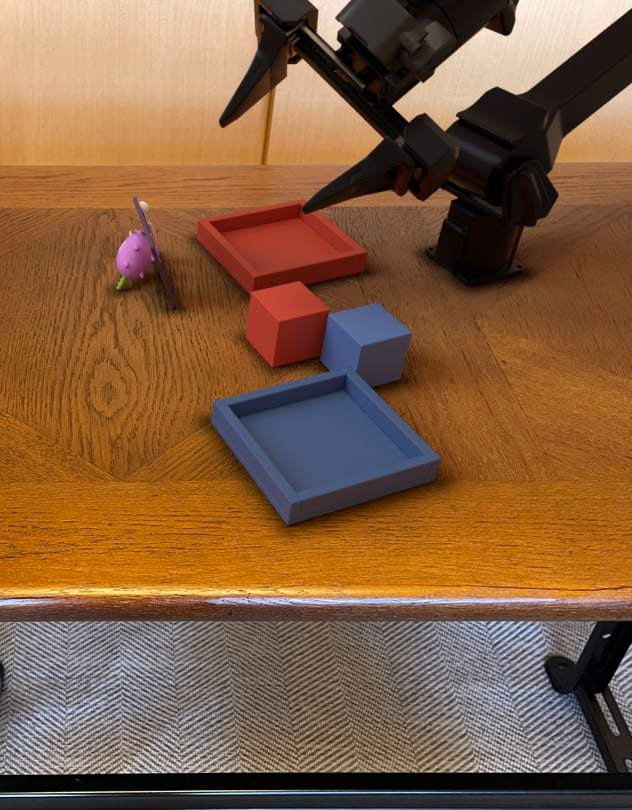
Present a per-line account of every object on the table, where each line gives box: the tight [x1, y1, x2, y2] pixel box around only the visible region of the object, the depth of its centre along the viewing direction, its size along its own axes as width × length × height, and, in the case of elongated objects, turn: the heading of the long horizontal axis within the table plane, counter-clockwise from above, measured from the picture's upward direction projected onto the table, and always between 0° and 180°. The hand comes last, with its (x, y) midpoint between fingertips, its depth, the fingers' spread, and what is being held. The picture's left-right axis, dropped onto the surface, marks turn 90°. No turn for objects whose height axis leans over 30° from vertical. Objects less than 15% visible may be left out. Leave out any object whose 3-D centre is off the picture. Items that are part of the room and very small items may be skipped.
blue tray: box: [210, 366, 442, 526], centre depth 65 cm, size 12×11×2 cm
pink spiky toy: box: [115, 196, 177, 310], centre depth 81 cm, size 7×5×9 cm
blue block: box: [319, 302, 413, 388], centre depth 72 cm, size 4×4×4 cm
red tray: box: [196, 198, 369, 297], centre depth 86 cm, size 12×11×2 cm
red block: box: [245, 281, 330, 369], centre depth 74 cm, size 4×4×4 cm
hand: (261, 167), depth 68 cm, fingers open, 9 cm apart
